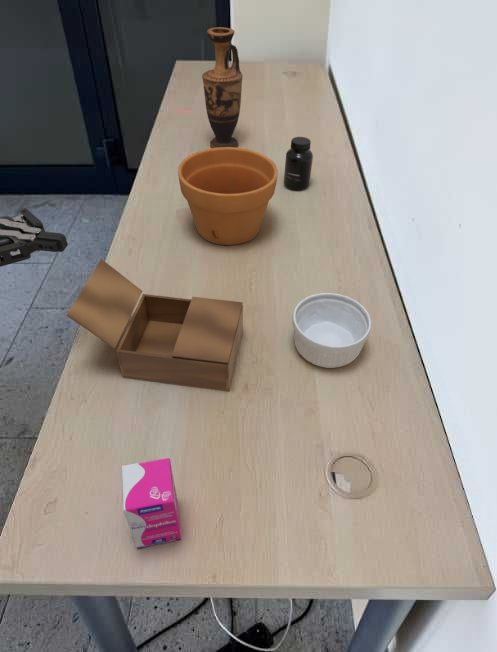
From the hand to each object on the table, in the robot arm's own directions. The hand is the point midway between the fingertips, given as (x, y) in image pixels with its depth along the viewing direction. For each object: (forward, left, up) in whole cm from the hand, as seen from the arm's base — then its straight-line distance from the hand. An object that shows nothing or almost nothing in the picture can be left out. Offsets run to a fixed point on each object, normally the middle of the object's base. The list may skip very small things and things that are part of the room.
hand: (64, 243), depth 72 cm
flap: (+4, -1, -11) cm, 12 cm away
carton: (+16, -3, -21) cm, 27 cm away
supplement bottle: (+42, +56, -21) cm, 73 cm away
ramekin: (+41, -2, -21) cm, 47 cm away
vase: (+23, +80, -21) cm, 86 cm away
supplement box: (+14, -33, -21) cm, 42 cm away
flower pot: (+24, +36, -21) cm, 48 cm away
